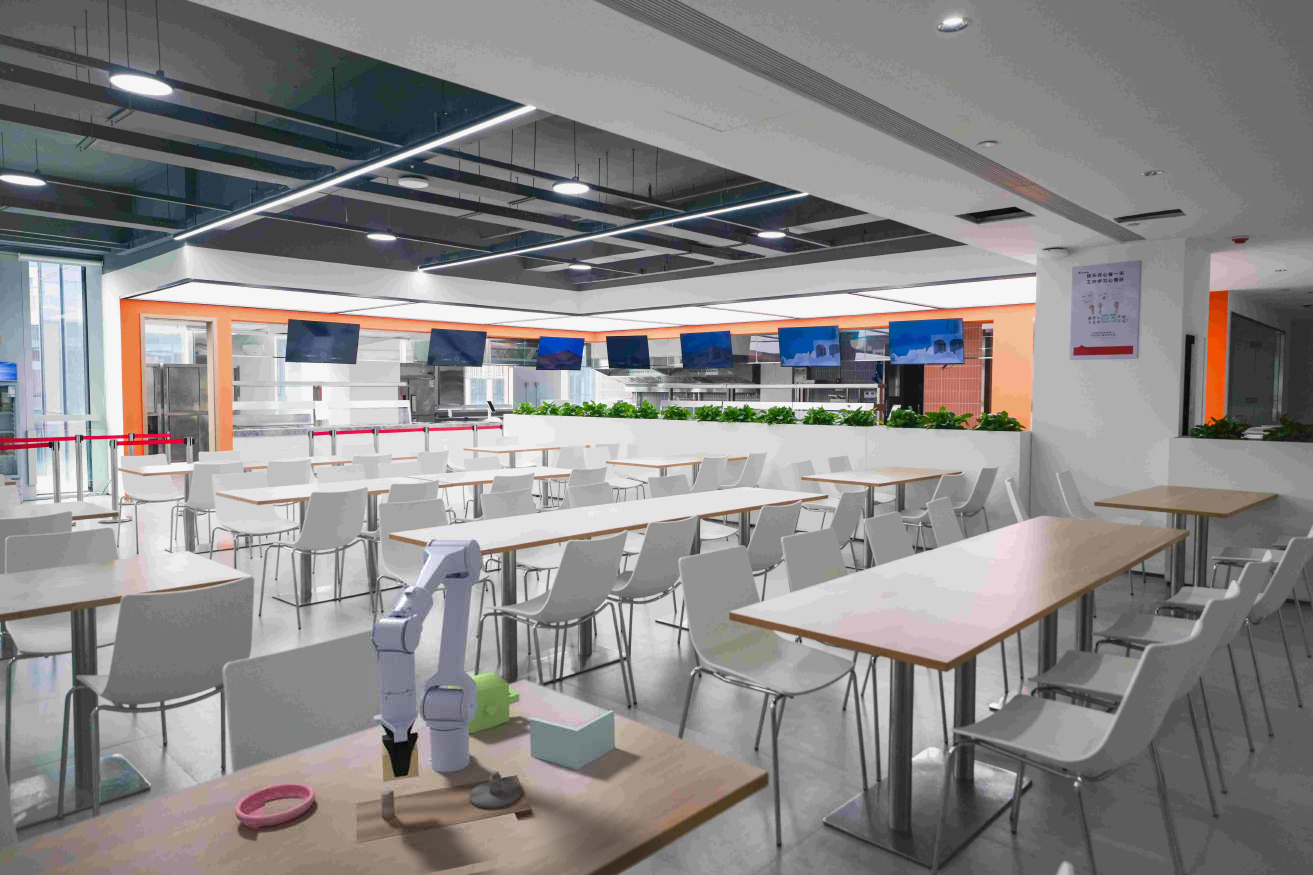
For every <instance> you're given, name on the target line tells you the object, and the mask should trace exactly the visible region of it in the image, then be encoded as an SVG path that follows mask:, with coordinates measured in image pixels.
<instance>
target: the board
mask: <svg viewBox="0 0 1313 875" xmlns="http://www.w3.org/2000/svg"><path fill="white" fill-rule="evenodd" d="M380 796H381V798H380V799H375V800H370V801H369V800H368V801H363V802H356V844H360V843H365V842H368V841H369V842H370V841H375V840H381V839H385V838H386V839H387V838H391V837H395V836H401V835H406V834H413V833H417V832H422V831H428V830H432V829H436V828H442V827H448V826H452V825H459V824H464V823H469V822H474V821H481V820H485V819H488V818H489V819H490V818H495V817H500V816H507V815H510V814H514V815H515V817H516V818H517V819H520V818H524V817H527V816H528V817H529V816H533V808H532V805H531V804H530V801H529V799H528V797H527V794H526V792H525V790H524V788H523V785H522V783H521V781H520V779H519V777H518V775H511V776H505V777H502V774H500V771H497V770H495V771H492V772H491V773H490V775H489V779H487V780H482V781H476V782H471V783H464V784H460V785H458V784H457V785H453V786H447V787H442V788H437V789H430V790H425V791H419V792H413V793H407V794H403V795H396V796H395V792H394V790H392V789H388V790H384V791H382V792H381V793H380Z"/></svg>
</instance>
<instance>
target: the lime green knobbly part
mask: <svg viewBox="0 0 1313 875" xmlns="http://www.w3.org/2000/svg"><path fill="white" fill-rule="evenodd" d="M470 677H471V678H472V679H473V680H474V681H475V682H476V685H477V700H478V704H477V711H476V714H475V717H474V718H473V719H472V721H471V722H470V723H468V729H469V735H470V734H474V733H476V732H481V731H484V730H488V729H490V728H493V727H496V726H499V725H502V724H505V723H507V722H509V721H510V706H511V705H513V704H515V703H519V702H520V693H519V692H517V691H515V690H513V689H512V688H510V687H509V686H510V683H509V682H508V681H507V680H505V679H504V678H502V677H501V676H499V675H497V674H496V673H493V672H491V671H490V672H489V671H488V672H486V673H482V674H481V673H480V674H477V675H473V676H470ZM447 688H448V689H462V688H460V687H458V686H447Z"/></svg>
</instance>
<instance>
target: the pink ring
mask: <svg viewBox="0 0 1313 875" xmlns="http://www.w3.org/2000/svg"><path fill="white" fill-rule="evenodd" d="M279 798H281V799H282V798H297V799H301V800H303V801H304V802H302V803H301V804H299V805H297V806H295V807H293V808H291V809H288V810H285V811H282V812H279V813H274V814H269V815H268V814H267V815H264V810H265V807H266V802H267V801H271V800H274V799H279ZM315 799H316V792H315V789H314V788H313V786H310V785H308V784H306V783H297V782H294V783H293V782H291V783H290V782H289V783H281V784H279V783H278V784H275V785H271V786H267V787H264V788H260V789H258V790H256V791H253V792H252V793H250V794H248V795H246V796H245V797H243V798H242V799H240V800H239V802H238V803H237V804H236V806H235V809H234V813H235V817H236V819H237V820H238V821H239V822H241V823H242V824H244V825H245V826H246V827H248V828H249V829H251V828H252V830H255V829H256V831H259V830H260V828H261V827H268V826H269V827H270V826H275V825H279V824H283V823H286V822H289V821H291V820H295V819H296V818H298V817H299V816H301V815H302V814H304V813H305V812H307V811H308V810H309V809H310V808H311V806H312V805H313V802H314V801H315Z"/></svg>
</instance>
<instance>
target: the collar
mask: <svg viewBox="0 0 1313 875" xmlns="http://www.w3.org/2000/svg"><path fill="white" fill-rule="evenodd" d="M417 743H418V740H417V741H416V743H415V745H414V748H413V751H412V755H411V761H410V768H409V773H408V775H407V776H401V777H395V776H394V773H393V769H392V764H391V760H390V756H389V753H388V751H387V749H386V747H385V746H384V744H383V742H382V741H381V761H382V762H381V764H382V782H383V783H386V782H392V781H398V780H404V779H409V778H416V777H419V776H420V774H419V748H418V744H417Z"/></svg>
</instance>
